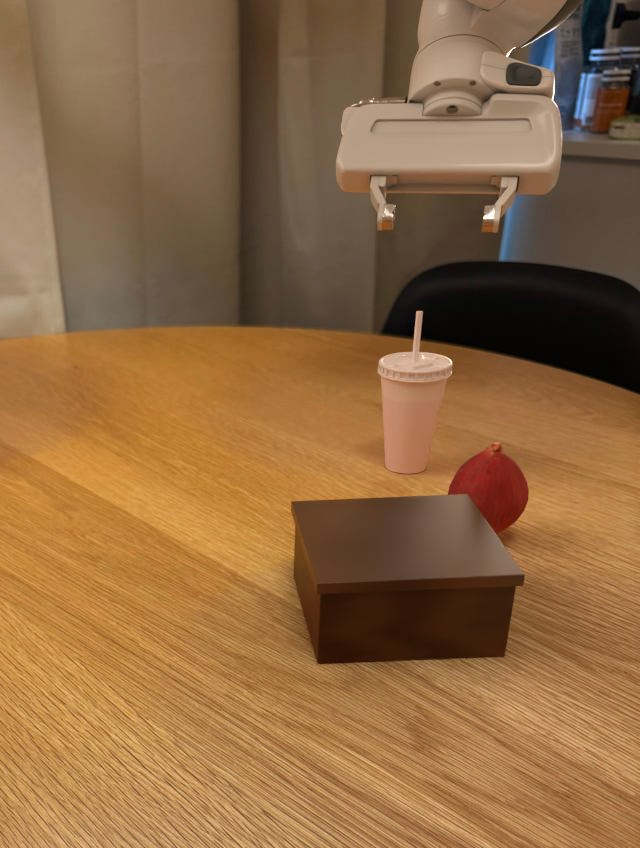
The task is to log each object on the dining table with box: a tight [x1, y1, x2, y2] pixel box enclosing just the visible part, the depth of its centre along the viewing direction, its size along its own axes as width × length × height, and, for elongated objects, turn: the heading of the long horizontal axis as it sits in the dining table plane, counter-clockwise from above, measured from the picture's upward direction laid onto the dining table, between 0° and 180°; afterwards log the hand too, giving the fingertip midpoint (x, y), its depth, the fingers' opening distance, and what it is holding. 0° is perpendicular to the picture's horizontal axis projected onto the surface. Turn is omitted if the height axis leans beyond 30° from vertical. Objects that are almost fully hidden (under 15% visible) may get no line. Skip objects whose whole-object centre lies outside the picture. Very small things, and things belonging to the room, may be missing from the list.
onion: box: [447, 441, 530, 535], centre depth 77 cm, size 6×6×8 cm
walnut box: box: [290, 494, 526, 664], centre depth 68 cm, size 13×13×6 cm
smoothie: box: [376, 310, 454, 475], centre depth 89 cm, size 6×6×14 cm
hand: (436, 227), depth 93 cm, fingers open, 8 cm apart
